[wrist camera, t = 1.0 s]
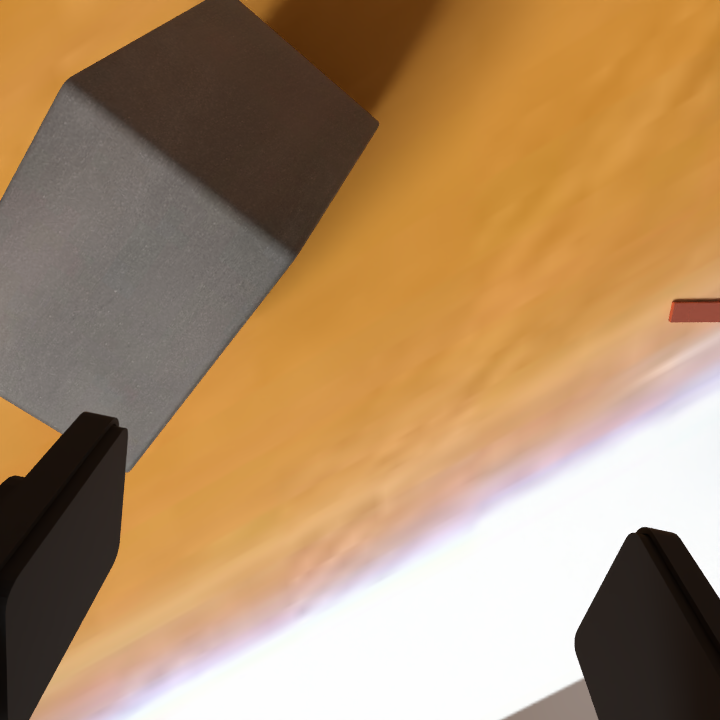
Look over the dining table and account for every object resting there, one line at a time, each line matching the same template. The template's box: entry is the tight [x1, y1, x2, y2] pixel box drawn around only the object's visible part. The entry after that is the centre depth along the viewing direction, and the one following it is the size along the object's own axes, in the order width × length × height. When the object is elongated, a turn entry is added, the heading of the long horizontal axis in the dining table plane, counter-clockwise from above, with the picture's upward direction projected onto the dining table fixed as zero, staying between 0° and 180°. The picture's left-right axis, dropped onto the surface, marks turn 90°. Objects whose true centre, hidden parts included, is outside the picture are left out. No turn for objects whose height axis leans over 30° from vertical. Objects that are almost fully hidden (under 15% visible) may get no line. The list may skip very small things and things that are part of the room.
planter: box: [0, 0, 379, 472], centre depth 27 cm, size 17×8×21 cm
